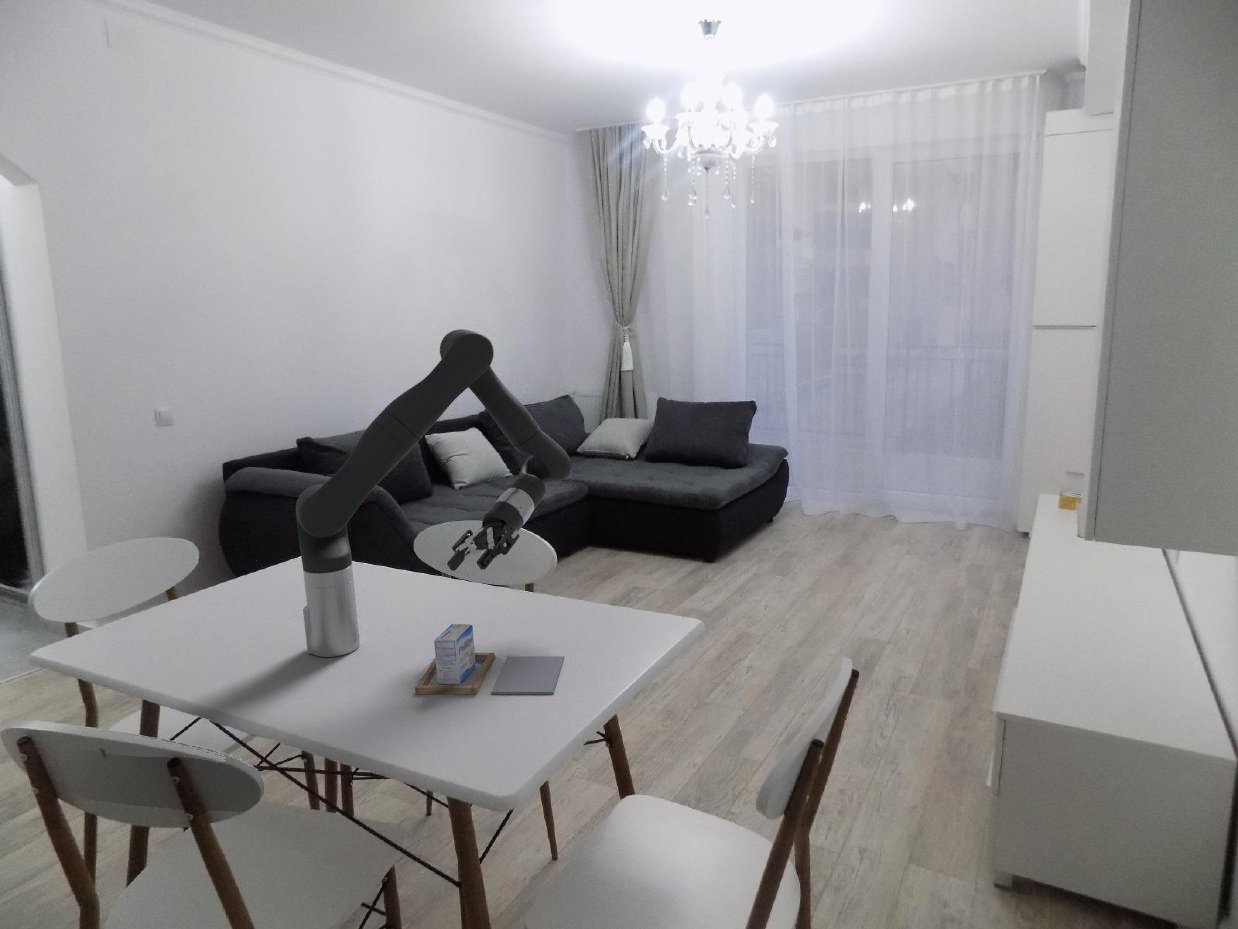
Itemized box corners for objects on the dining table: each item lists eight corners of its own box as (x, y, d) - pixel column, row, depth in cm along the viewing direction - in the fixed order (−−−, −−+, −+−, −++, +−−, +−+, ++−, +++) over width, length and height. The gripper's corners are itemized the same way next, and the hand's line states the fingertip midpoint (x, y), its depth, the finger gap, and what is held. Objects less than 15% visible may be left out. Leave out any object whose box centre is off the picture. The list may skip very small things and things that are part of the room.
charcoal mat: (491, 694, 145) (490, 692, 145) (507, 658, 159) (507, 656, 159) (553, 694, 144) (553, 692, 144) (564, 658, 159) (564, 656, 159)
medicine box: (460, 686, 148) (456, 640, 147) (436, 684, 149) (433, 639, 148) (476, 667, 156) (473, 623, 154) (454, 666, 157) (450, 622, 155)
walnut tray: (415, 694, 146) (414, 687, 145) (438, 658, 160) (438, 652, 160) (477, 694, 145) (476, 687, 145) (494, 658, 160) (494, 652, 159)
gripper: (476, 502, 174) (430, 554, 163) (525, 497, 166) (480, 551, 155) (493, 529, 178) (450, 582, 167) (542, 526, 169) (500, 580, 158)
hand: (465, 567), depth 161 cm, fingers open, 8 cm apart
